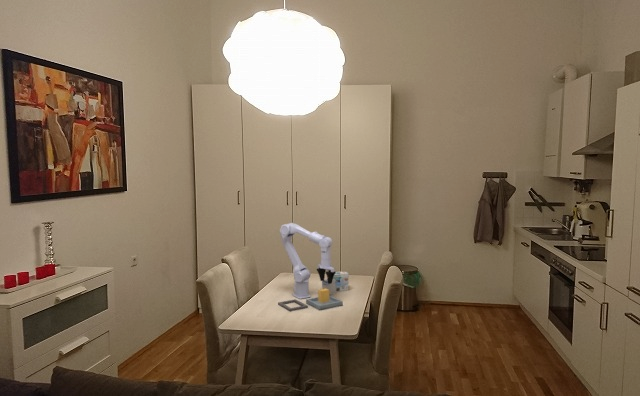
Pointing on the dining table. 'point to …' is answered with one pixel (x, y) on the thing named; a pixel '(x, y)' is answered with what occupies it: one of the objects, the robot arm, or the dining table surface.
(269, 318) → the dining table surface
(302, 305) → the holder frame
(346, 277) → the white printed carton
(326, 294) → the block
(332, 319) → the dining table surface
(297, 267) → the robot arm
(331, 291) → the medicine box
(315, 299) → the parts tray
